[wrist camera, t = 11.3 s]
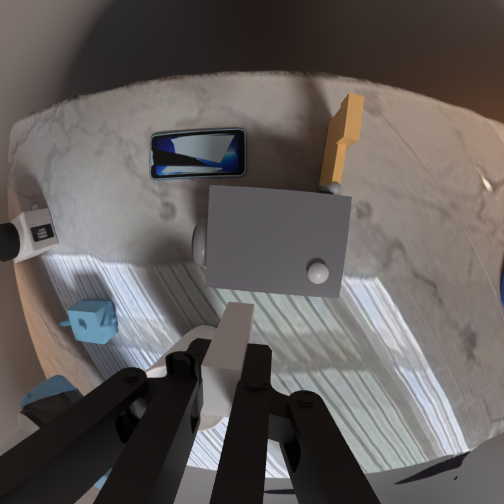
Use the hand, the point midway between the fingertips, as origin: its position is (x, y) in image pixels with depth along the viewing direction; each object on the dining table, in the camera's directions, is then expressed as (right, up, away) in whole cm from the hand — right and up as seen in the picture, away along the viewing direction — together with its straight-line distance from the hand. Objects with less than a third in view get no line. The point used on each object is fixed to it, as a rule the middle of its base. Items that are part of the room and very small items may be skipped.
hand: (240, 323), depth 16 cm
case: (+3, +7, +25) cm, 27 cm away
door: (+12, +18, +22) cm, 31 cm away
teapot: (-29, -7, +32) cm, 43 cm away
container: (-42, +8, +29) cm, 51 cm away
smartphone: (-8, +19, +24) cm, 32 cm away
